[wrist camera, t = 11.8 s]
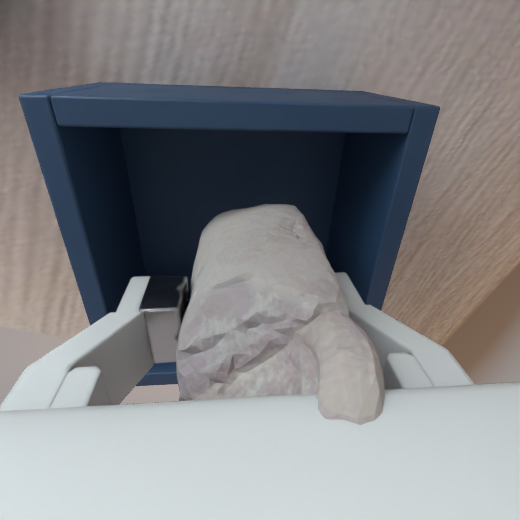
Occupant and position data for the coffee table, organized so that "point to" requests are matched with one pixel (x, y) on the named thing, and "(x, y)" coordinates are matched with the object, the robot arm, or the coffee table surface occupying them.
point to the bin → (222, 176)
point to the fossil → (273, 319)
